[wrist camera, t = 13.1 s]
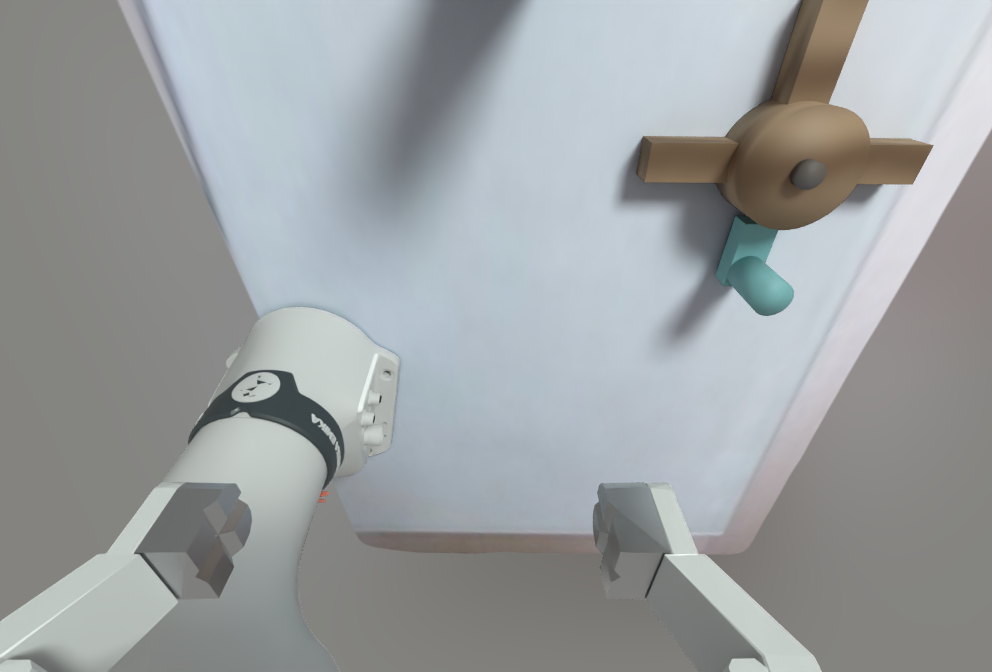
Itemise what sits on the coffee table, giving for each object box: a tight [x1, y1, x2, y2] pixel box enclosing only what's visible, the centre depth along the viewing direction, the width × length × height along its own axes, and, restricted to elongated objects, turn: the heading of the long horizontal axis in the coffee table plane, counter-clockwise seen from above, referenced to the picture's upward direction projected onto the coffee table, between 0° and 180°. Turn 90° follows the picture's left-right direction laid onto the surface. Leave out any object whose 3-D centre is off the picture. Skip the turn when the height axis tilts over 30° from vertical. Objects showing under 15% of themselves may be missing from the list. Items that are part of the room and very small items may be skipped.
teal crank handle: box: [715, 216, 794, 316], centre depth 39 cm, size 6×3×7 cm, turn 179°
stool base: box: [637, 0, 933, 230], centre depth 33 cm, size 16×22×6 cm
